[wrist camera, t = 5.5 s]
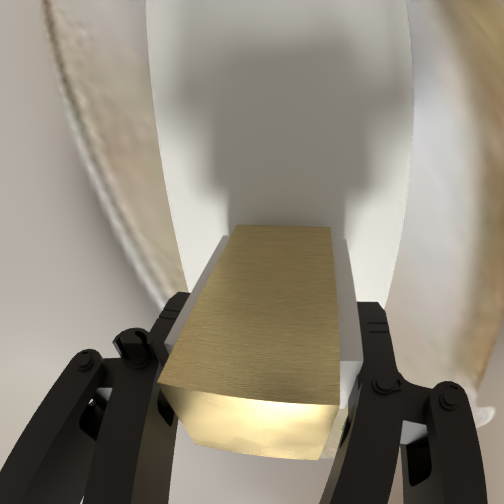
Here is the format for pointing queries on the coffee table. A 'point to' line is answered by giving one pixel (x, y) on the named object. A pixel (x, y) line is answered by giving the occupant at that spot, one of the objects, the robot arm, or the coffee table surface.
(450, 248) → the coffee table surface
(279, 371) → the block
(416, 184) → the coffee table surface
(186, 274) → the board
